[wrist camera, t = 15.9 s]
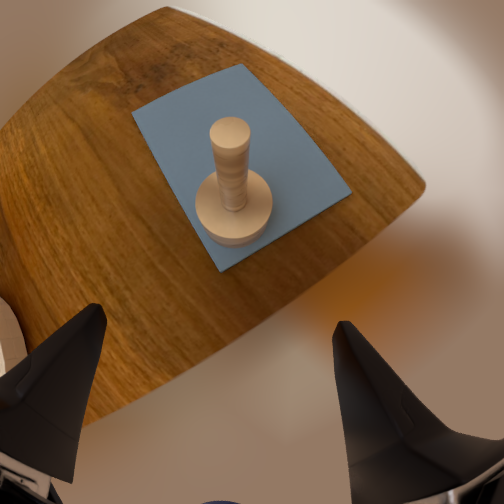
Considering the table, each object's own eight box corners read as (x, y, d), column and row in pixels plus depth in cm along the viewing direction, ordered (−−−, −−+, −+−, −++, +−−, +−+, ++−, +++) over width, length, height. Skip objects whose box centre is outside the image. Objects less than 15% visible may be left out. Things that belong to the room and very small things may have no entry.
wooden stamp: (252, 259, 22) (265, 210, 10) (190, 232, 22) (144, 162, 11) (278, 200, 23) (309, 111, 11) (219, 176, 23) (204, 78, 12)
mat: (350, 194, 24) (352, 192, 24) (220, 273, 22) (220, 272, 22) (241, 66, 27) (241, 63, 26) (133, 115, 25) (131, 112, 25)
